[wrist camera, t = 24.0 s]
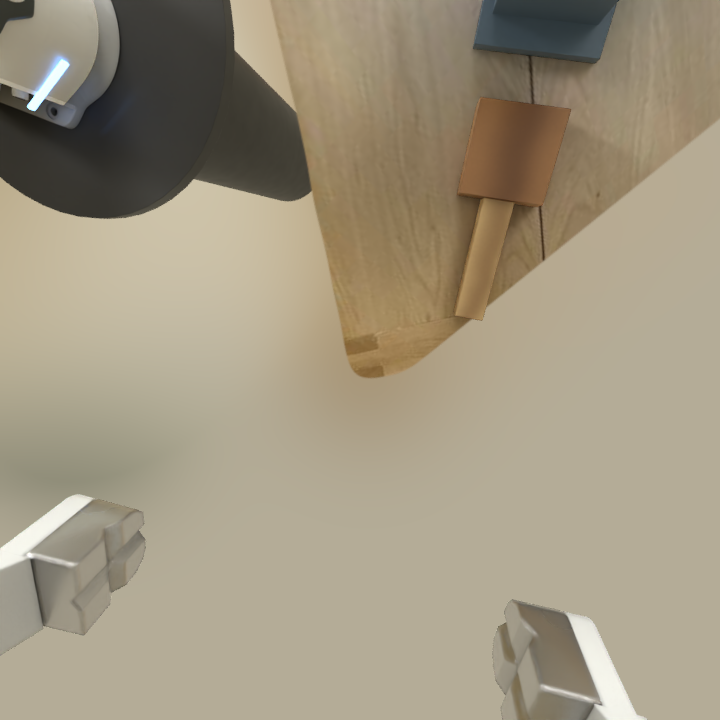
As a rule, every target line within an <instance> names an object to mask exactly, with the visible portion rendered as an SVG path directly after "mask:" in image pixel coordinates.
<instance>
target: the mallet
mask: <svg viewBox="0 0 720 720" xmlns="http://www.w3.org/2000/svg"><path fill="white" fill-rule="evenodd" d="M570 112H571V109H567V108H560V107H552V106H544V105H537V104H529V103H522V102H514V101H506V100H499V99H491V98H484V97H480V99H479V102H478V104H477V106H476V110H475V114H474V119H473V123H472V128H471V132H470V137H469V141H468V146H467V150H466V155H465V159H464V164H463V168H462V173H461V177H460V182H459V186H458V191H457V195H459V196H465V197H472V198H478V199H481V200H480V205H479V209H478V213H477V217H476V221H475V225H474V229H473V233H472V237H471V241H470V246H469V250H468V254H467V258H466V262H465V266H464V270H463V274H462V278H461V283H460V287H459V291H458V295H457V299H456V303H455V307H454V311H453V312H454V314H455V316H459V317H464V318H470V319H475V320H481V321H482V320H483V317H484V313H485V309H486V306H487V302H488V298H489V295H490V291H491V287H492V284H493V280H494V276H495V273H496V269H497V265H498V262H499V258H500V254H501V251H502V247H503V243H504V240H505V236H506V232H507V229H508V225H509V221H510V218H511V214H512V210H513V207H514V204H517V205H523V206H530V207H538V206H542V205H543V203H544V199H545V196H546V193H547V189H548V186H549V183H550V179H551V176H552V172H553V169H554V166H555V162H556V159H557V156H558V152H559V149H560V146H561V142H562V139H563V135H564V132H565V129H566V125H567V122H568V119H569V115H570Z"/></svg>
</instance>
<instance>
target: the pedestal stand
mask: <svg viewBox="0 0 720 720" xmlns="http://www.w3.org/2000/svg"><path fill="white" fill-rule="evenodd" d="M618 1H619V0H483V2H482V7H481V12H480V16H479V21H478V26H477V31H476V35H475V40H474V45H473V49H481V50H489V51H497V52H505V53H514V54H522V55H530V56H538V57H547V58H555V59H563V60H571V61H580V62H588V63H596V62H597V61H598V60H599V59H600V56H601V53H602V50H603V47H604V43H605V40H606V37H607V33H608V30H609V27H610V24H611V20H612V17H613V14H614V11H615V7H616V4H617V2H618Z"/></svg>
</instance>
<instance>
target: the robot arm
mask: <svg viewBox="0 0 720 720" xmlns="http://www.w3.org/2000/svg"><path fill="white" fill-rule="evenodd" d="M119 50H120V38H119V28H118V22H117V18H116V14H115V10H114V7H113V5H112V2H111V0H0V102H1V103H3V104H6V105H8V106H11V107H14V108H16V109H19V110H21V111H24V112H27V113H29V114H32V115H34V116H37V117H39V118H42V119H45V120H47V121H50V122H52V123H55V124H57V125H60V126H63V127H65V128H68V129H73V128H75V127H76V126H77V125H78V124H79V122H80V120H81V118H82V116H83V114H84V112H85V109H86V108H87V107H88V106H89V105H90V104H92V103H93V102H94V101H96V100H97V99H98V98H99V97H101V96H102V95H103V93H104V92H105V91H106V90H107V88H108V87H109V85H110V83H111V82H112V80H113V77H114V75H115V72H116V69H117V65H118V59H119ZM56 111H57V114H56ZM143 525H144V516H143V512H142V511H139V510H137V509H133V508H129V507H125V506H122V505H118V504H114V503H111V502H107V501H104V500H100V499H95V498H91V497H88V496H84V495H80V494H77V495H74V496H70V497H68V498H67V499H66V500H64V501H63V502H61V503H60V504H59V505H58V506H56V507H55V508H53V509H52V510H51V511H49V512H48V513H47V514H46V515H44V516H43V517H41V518H40V519H39V520H37V521H36V522H35V523H33V524H32V525H31V526H30V527H28V528H27V529H25V530H24V531H23V532H21V533H20V534H19V535H17V536H16V537H15V538H13V539H12V540H11V541H9V542H8V543H7V544H5V545H4V546H3V547H1V548H0V656H1V655H2V654H4V653H5V652H7V651H9V650H10V649H12V648H13V647H15V646H17V645H18V644H20V643H21V642H23V641H25V640H26V639H28V638H30V637H31V636H33V635H34V634H36V633H37V632H39V631H41V630H42V629H43V626H46V627H50V628H54V629H58V630H63V631H67V632H71V633H75V634H79V635H85V634H86V633H87V631H88V630H89V629H90V628H91V627H92V625H93V624H94V623H95V622H96V621H97V619H98V618H99V617H100V616H101V615H102V613H103V612H104V611H105V609H107V607H108V606H109V605H110V601H111V593H112V592H114V591H115V590H117V589H119V588H121V587H123V586H125V585H126V584H127V583H128V582H129V581H130V579H131V578H132V577H133V576H134V574H135V573H136V571H137V570H138V567H139V566H140V564H141V562H142V560H143V557H144V552H145V538H144V537H143V536H142V534H141V533H140V531H139V529H140V528H141V527H142V526H143ZM504 614H505V618H506V623H504V624H502V625H500V626H498V628H497V631H496V634H495V637H494V643H493V667H494V673H495V679H496V682H497V684H498V685H499V687H500V688H501V689H502V691H503V692H504V694H505V695H506V696H505V699H504V701H503V703H502V706H501V714H502V719H503V720H647V718H645V717H642V716H638V715H637V714H636V712H635V710H634V708H633V706H632V704H631V702H630V699H629V697H628V695H627V693H626V691H625V689H624V687H623V684H622V682H621V680H620V678H619V676H618V674H617V671H616V669H615V667H614V665H613V663H612V661H611V659H610V656H609V654H608V652H607V650H606V648H605V646H604V644H603V641H602V639H601V637H600V635H599V633H598V631H597V628H596V626H595V624H594V623H593V622H592V621H591V619H590V618H589V617H585V616H580V615H576V614H572V613H568V612H564V611H560V610H556V609H552V608H547V607H543V606H539V605H535V604H530V603H525V602H521V601H517V600H511V601H510V602H508V604H507V606H506V608H505V611H504Z"/></svg>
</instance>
